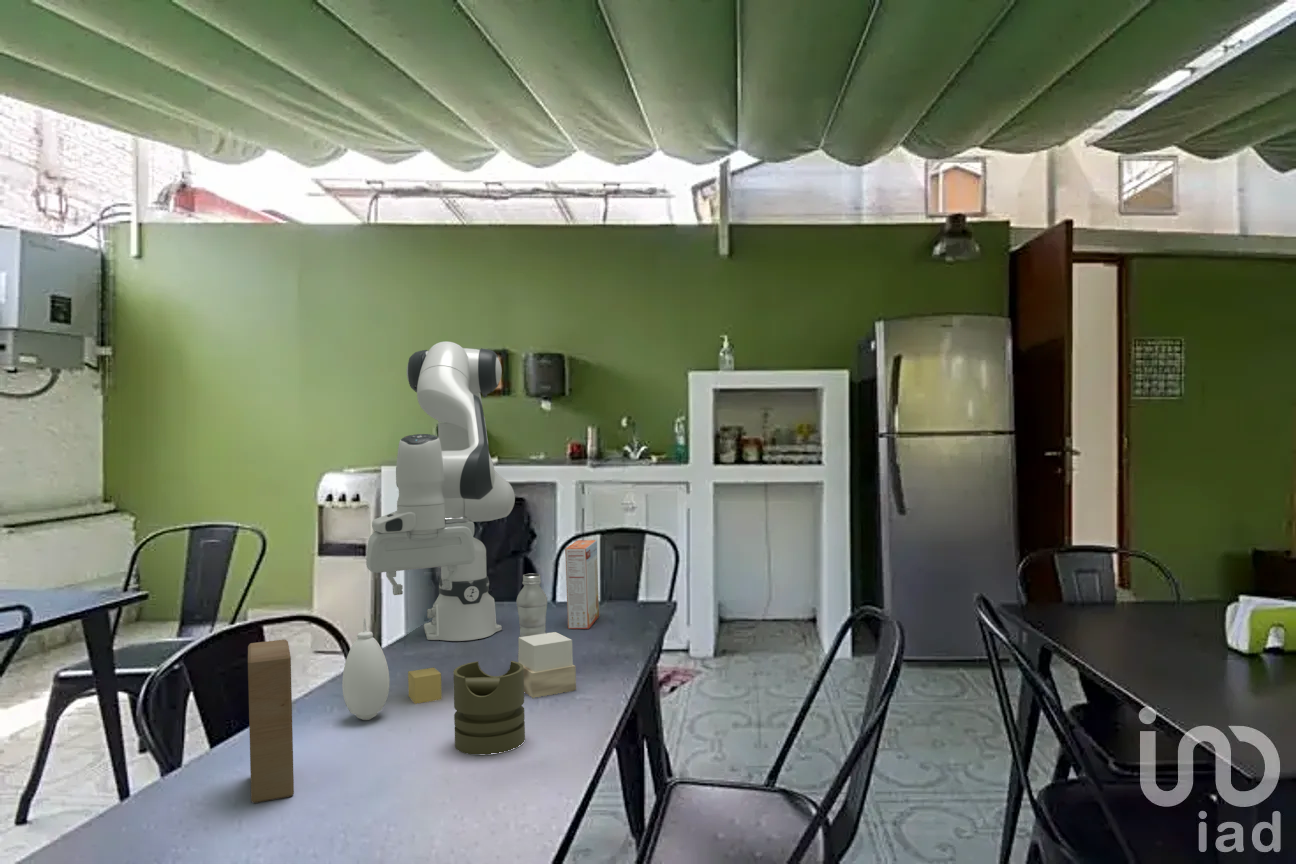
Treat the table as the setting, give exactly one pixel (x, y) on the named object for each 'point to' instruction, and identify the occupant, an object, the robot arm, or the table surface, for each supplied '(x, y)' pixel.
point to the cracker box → (582, 584)
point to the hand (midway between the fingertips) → (422, 591)
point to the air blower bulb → (365, 677)
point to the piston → (488, 709)
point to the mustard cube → (424, 685)
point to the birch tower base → (549, 681)
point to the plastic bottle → (531, 607)
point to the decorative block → (270, 720)
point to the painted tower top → (545, 651)
